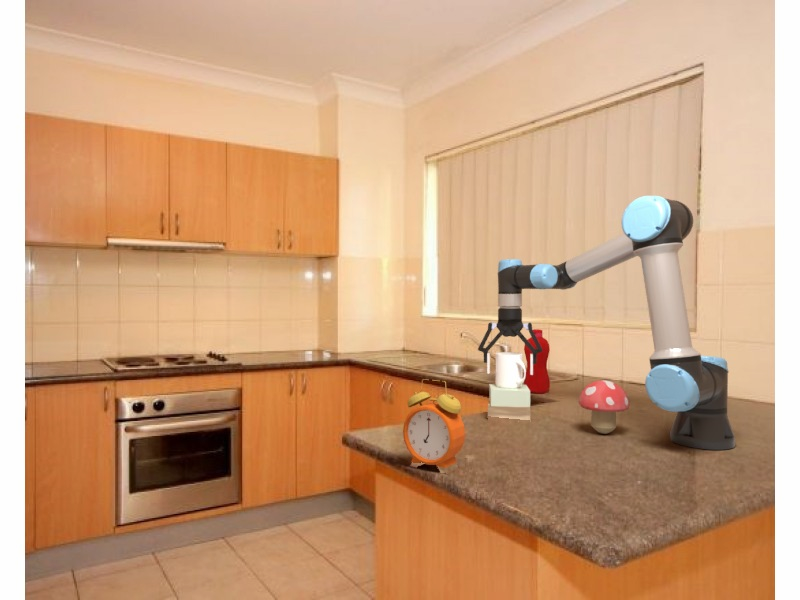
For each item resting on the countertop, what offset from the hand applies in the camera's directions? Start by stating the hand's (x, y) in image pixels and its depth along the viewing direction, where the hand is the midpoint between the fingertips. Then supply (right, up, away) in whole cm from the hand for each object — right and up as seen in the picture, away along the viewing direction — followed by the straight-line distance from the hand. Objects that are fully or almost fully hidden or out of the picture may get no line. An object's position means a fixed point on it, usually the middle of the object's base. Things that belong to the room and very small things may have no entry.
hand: (509, 373), depth 180 cm
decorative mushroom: (+22, -14, -22) cm, 34 cm away
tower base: (0, -14, 0) cm, 14 cm away
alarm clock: (-28, -15, -52) cm, 61 cm away
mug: (+1, -4, 0) cm, 5 cm away
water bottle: (+20, -13, +44) cm, 50 cm away
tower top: (0, -9, 0) cm, 9 cm away
